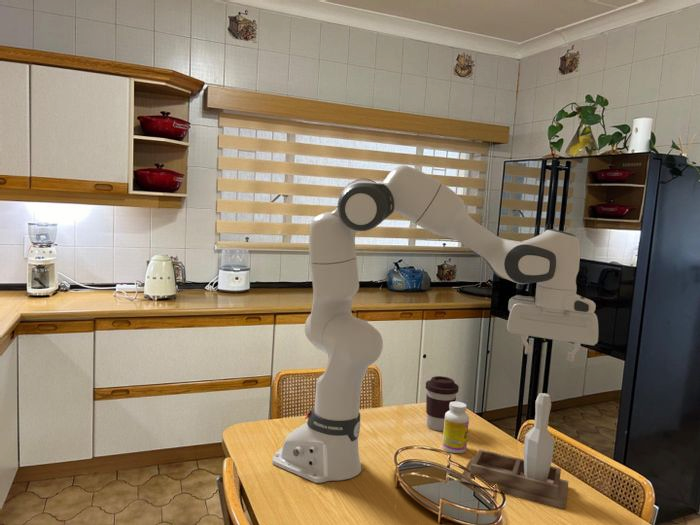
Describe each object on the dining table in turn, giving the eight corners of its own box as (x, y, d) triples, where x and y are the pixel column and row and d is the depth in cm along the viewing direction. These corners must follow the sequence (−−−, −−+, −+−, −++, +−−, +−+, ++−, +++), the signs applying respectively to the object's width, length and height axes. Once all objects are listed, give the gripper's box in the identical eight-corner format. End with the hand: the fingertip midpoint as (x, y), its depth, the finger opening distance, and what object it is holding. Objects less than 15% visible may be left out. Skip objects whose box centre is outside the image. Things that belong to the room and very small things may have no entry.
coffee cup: (417, 421, 172) (420, 374, 170) (445, 419, 175) (449, 373, 173) (430, 434, 162) (435, 385, 161) (460, 432, 166) (465, 384, 164)
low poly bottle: (515, 477, 135) (524, 390, 133) (537, 475, 137) (546, 389, 135) (532, 490, 129) (542, 400, 127) (554, 487, 132) (564, 398, 129)
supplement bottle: (466, 455, 150) (470, 410, 148) (441, 452, 151) (445, 406, 150) (466, 445, 156) (470, 401, 155) (442, 442, 158) (446, 398, 156)
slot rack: (460, 481, 135) (462, 464, 134) (471, 462, 146) (472, 446, 145) (565, 509, 125) (567, 490, 125) (567, 486, 136) (569, 469, 136)
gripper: (507, 295, 130) (501, 352, 132) (602, 307, 122) (595, 367, 123) (511, 292, 136) (505, 347, 137) (601, 303, 128) (595, 361, 129)
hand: (548, 357), depth 130 cm, fingers open, 8 cm apart
